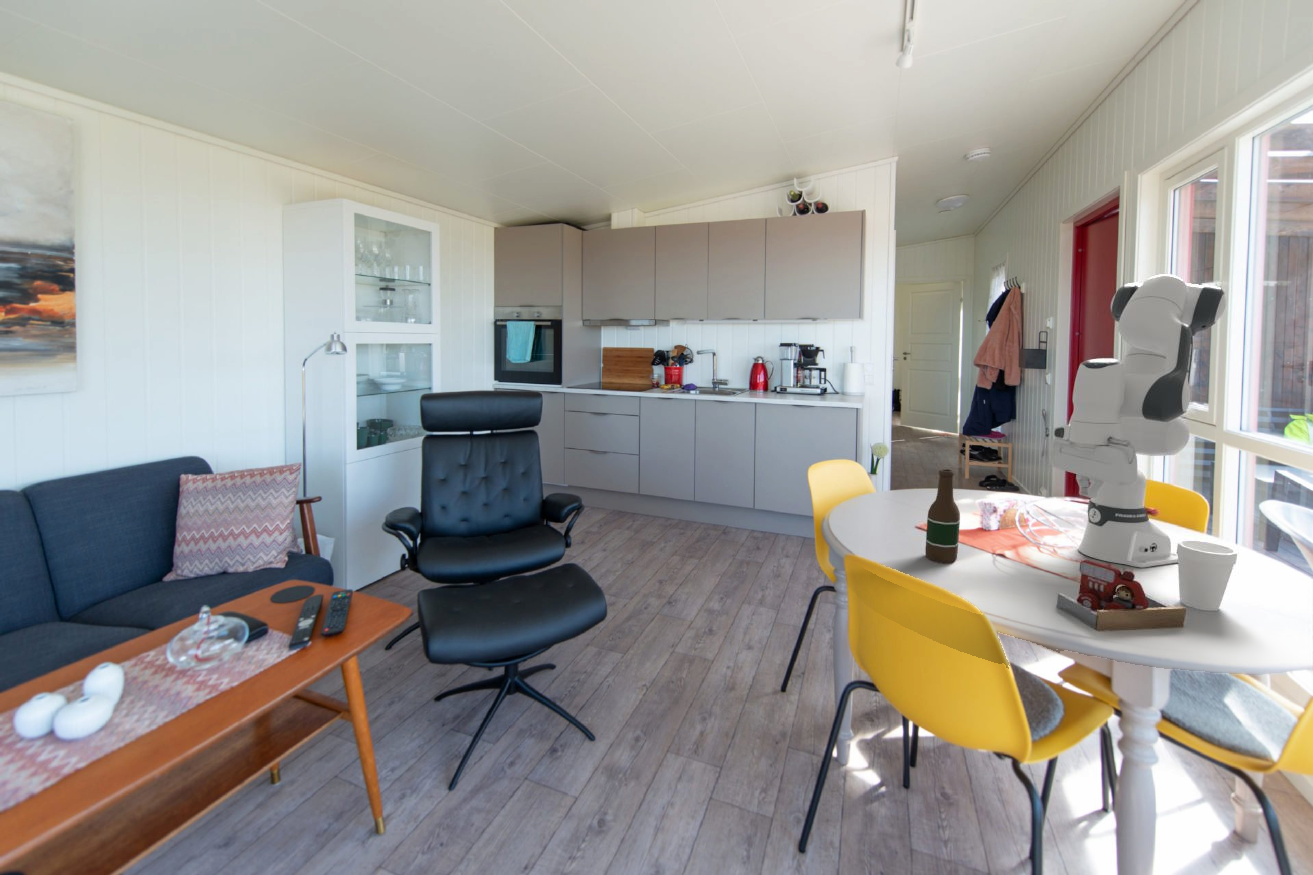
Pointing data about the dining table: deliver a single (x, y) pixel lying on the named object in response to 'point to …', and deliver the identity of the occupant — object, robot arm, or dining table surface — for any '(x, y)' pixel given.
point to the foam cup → (1204, 573)
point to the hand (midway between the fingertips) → (1087, 496)
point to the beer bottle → (943, 522)
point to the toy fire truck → (1109, 588)
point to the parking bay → (1125, 615)
